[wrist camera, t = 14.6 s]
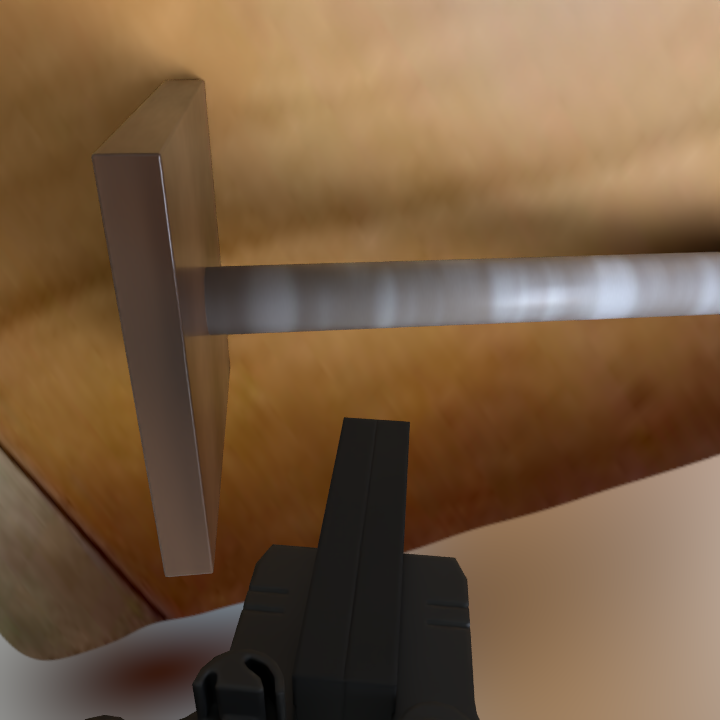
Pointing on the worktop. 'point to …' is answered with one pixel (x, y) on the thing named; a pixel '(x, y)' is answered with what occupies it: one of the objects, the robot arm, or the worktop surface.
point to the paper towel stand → (295, 302)
